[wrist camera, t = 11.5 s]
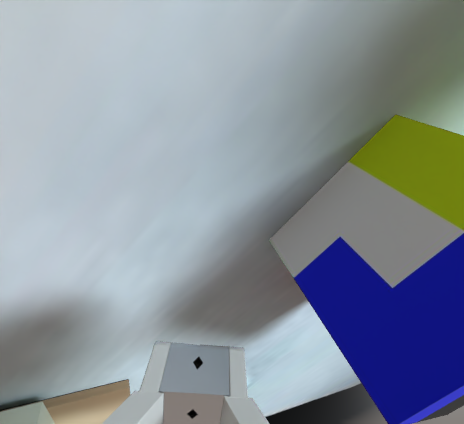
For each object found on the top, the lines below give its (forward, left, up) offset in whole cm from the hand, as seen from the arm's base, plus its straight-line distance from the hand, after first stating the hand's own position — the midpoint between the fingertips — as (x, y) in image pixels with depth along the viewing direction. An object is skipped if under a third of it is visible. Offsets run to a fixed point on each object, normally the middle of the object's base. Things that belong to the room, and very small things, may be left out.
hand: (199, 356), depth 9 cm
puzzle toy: (-1, +13, -7) cm, 15 cm away
